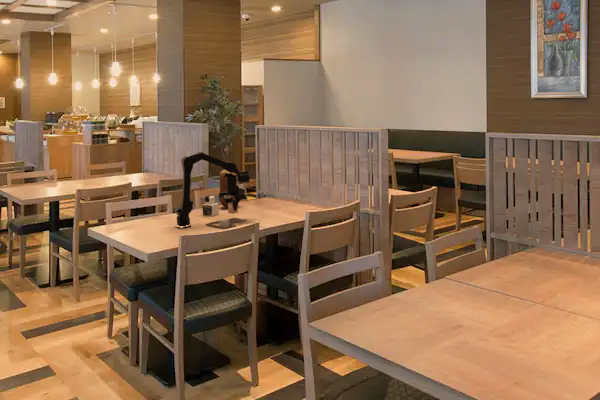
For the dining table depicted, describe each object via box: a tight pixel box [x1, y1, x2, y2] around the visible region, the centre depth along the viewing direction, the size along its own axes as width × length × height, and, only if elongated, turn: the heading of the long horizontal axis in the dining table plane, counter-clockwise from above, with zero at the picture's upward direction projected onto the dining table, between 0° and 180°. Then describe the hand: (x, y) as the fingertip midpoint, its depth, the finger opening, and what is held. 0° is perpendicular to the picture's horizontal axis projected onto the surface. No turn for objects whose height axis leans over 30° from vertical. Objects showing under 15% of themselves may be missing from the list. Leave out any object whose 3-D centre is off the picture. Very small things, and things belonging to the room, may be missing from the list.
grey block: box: [218, 218, 229, 227], centre depth 336 cm, size 4×4×4 cm
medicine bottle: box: [201, 195, 220, 217], centre depth 370 cm, size 7×7×12 cm
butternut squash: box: [218, 169, 238, 209], centre depth 390 cm, size 14×13×25 cm
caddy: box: [205, 220, 237, 230], centre depth 338 cm, size 9×17×1 cm, turn 45°
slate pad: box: [227, 217, 247, 224], centre depth 350 cm, size 10×10×1 cm
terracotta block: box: [227, 202, 239, 215], centre depth 349 cm, size 4×4×6 cm
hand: (233, 210), depth 349 cm, fingers closed on terracotta block, 4 cm apart
